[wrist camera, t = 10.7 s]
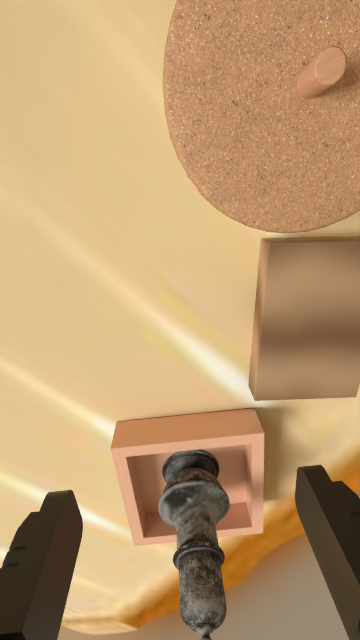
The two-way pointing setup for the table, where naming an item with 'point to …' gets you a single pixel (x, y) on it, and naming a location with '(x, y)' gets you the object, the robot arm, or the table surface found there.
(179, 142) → the lidded jar
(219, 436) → the tray
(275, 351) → the bronze block
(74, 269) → the table surface
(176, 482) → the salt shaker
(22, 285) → the table surface
